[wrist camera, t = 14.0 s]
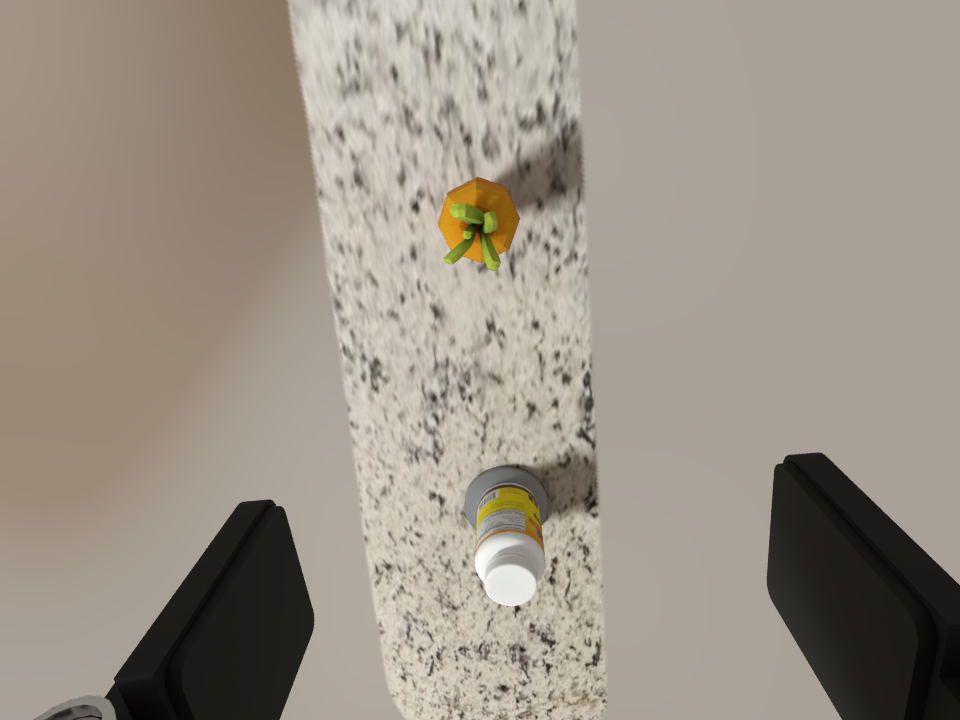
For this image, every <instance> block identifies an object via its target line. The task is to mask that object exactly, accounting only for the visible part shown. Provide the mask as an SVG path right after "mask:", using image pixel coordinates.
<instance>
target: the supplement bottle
mask: <svg viewBox="0 0 960 720" xmlns="http://www.w3.org/2000/svg"><path fill="white" fill-rule="evenodd" d="M475 567H476V571H477V573H478V575H479V577H480V579H481V580H482V581H483V582H484V583H485V589H486V592H487V594H488V595H489V597H490V598H491V599H492V600H494V601H495V602H497V603H499V604H502V605H506V606H516V605H521V604H523V603H525V602H527V601H529V600H530V599H531V598H532V597H533V596H534V594H535V593H536V590H537V582H538V581H539V580H540V578H541V577H542V575H543V572H544V569H545V553H544V545H543V537H542V528H541V520H540V512H539V506H538V502H537V500H536V498H535V496H534V495H533V493H532V492H531V491H530V490H528V489H527V488H526V487H524V486H522V485H519V484H516V483H501V484H497V485H495V486H493V487H491V488H489V489H488V490H487V491H486V492H485V493H484V494H483V495H482V497H481V499H480V501H479V504H478V512H477V531H476V551H475Z"/></svg>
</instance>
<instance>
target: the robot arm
mask: <svg viewBox="0 0 960 720" xmlns="http://www.w3.org/2000/svg"><path fill="white" fill-rule="evenodd" d="M772 496H773V497H772V510H771V525H770V540H769V554H768V570H767V587H768V592H769V595H770V597H771V600H772V602H773V603H774V605H775V607H776V609H777V610H778V612H779V614H780V615H781V617H782V619H783V620H784V622H785V624H786V626H787V627H788V629H789V630H790V632H791V634H792V636H793V637H794V639H795V641H796V642H797V644H798V646H799V648H800V649H801V651H802V652H803V654H804V656H805V658H806V659H807V661H808V663H809V664H810V666H811V668H812V670H813V671H814V673H815V675H816V676H817V678H818V680H819V681H820V683H821V685H822V686H823V688H824V690H825V691H826V693H827V695H828V696H829V698H830V700H831V702H832V703H833V705H834V706H835V708H836V710H837V712H838V713H839V715H840V717H841V718H842V720H960V585H959V584H958V583H957V582H956V581H955V580H954V579H953V578H952V577H951V576H949V574H948V573H946V571H944V570H943V569H942V568H941V567H940V566H939V565H938V564H937V563H936V562H935V561H934V560H933V559H932V558H931V557H930V556H929V555H928V554H927V553H926V552H925V551H924V550H923V549H922V548H921V547H920V546H919V545H918V544H916V542H914V541H913V540H912V539H911V538H910V537H909V536H908V535H907V534H906V533H905V532H904V531H903V530H902V529H901V528H900V527H899V526H898V525H897V524H896V523H895V522H894V521H893V520H892V519H891V518H890V517H889V516H888V515H886V514H885V513H884V512H883V511H882V510H881V509H880V508H879V507H878V506H877V505H876V504H875V503H874V502H873V501H872V500H871V499H870V498H869V497H868V496H867V495H866V494H865V493H864V492H863V491H862V490H861V489H859V488H858V487H857V486H856V485H855V484H854V483H853V482H852V481H851V480H850V479H849V478H848V477H847V476H846V475H845V474H844V473H843V472H842V471H841V470H840V469H839V468H838V467H837V466H836V465H835V464H834V463H833V462H832V461H831V460H830V459H828V458H827V457H826V456H825V455H824V454H823V453H807V454H795V455H788V456H786V457H785V459H784V461H783V464H777V465H776V467H775V470H774V481H773V495H772ZM313 627H314V612H313V608H312V605H311V601H310V598H309V594H308V591H307V587H306V584H305V580H304V577H303V573H302V569H301V566H300V562H299V559H298V555H297V552H296V548H295V545H294V541H293V537H292V534H291V530H290V527H289V523H288V520H287V516H286V513H285V510H284V508H283V507H281V506H276V504H275V503H274V502H273V501H272V500H259V501H247V502H242V503H240V504H239V505H238V506H237V507H236V508H235V510H234V511H233V513H232V514H231V515H230V517H229V518H228V520H227V521H226V522H225V524H224V525H223V527H222V528H221V530H220V531H219V532H218V534H217V535H216V536H215V538H214V539H213V541H212V542H211V543H210V545H209V546H208V548H207V549H206V550H205V552H204V553H203V555H202V556H201V557H200V559H199V560H198V562H197V563H196V564H195V566H194V567H193V569H192V570H191V571H190V573H189V574H188V575H187V577H186V578H185V580H184V581H183V582H182V584H181V585H180V587H179V588H178V589H177V591H176V593H175V594H174V595H173V596H172V598H171V599H170V601H169V602H168V603H167V605H166V606H165V608H164V609H163V611H162V612H161V613H160V615H159V616H158V618H157V619H156V620H155V622H154V623H153V624H152V626H151V627H150V629H149V630H148V631H147V633H146V634H145V636H144V637H143V638H142V640H141V641H140V643H139V644H138V646H137V647H136V648H135V649H134V651H133V652H132V654H131V655H130V656H129V658H128V659H127V661H126V662H125V663H124V665H123V666H122V668H121V669H120V670H119V672H118V673H117V675H116V676H115V678H114V681H115V684H114V685H113V686H112V688H111V689H110V691H109V692H108V694H107V695H106V696H105V698H103V697H101V696H84V697H79V698H75V699H71V700H69V701H66V702H64V703H62V704H60V705H57V706H55V707H53V708H51V709H50V710H48V711H47V712H45V713H43V714H42V715H40V716H39V717H37V718H35V719H34V720H279V719H280V717H281V714H282V711H283V709H284V706H285V704H286V701H287V698H288V696H289V693H290V691H291V688H292V685H293V682H294V680H295V677H296V675H297V672H298V669H299V667H300V664H301V661H302V659H303V656H304V653H305V651H306V648H307V646H308V643H309V640H310V638H311V635H312V632H313Z"/></svg>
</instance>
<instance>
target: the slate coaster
mask: <svg viewBox="0 0 960 720" xmlns="http://www.w3.org/2000/svg"><path fill="white" fill-rule="evenodd" d="M501 483H516V484H519V485H522V486H524V487H526V488H527V489H528V490H530V491H531V492H532V493H533V495H534V496H535V498H536V500H537V502H538V506H539V512H540V520H541V525H542V524H543V522H544V520H545V518H546V515H547V511H548V502H547V495H546V492H545V489H544V487H543V485H542V484H541V482H540V481H539V480H538V479H537V478H536V477H535V476H534V475H532V474H531V473H529V472H527V471H525V470H523V469H520V468H516V467H508V466H505V467H496V468H492V469H489V470H487V471H485V472H483V473H481V474H480V475H478V476H477V477H476V478H475V479H474V480H473V481H472V482H471V484H470V485H469V487H468V489H467V492H466V496H465V514H466V517H467V519H468V521H469V523H470V524H471V526H472V527H473V528H474V529H475V530H476V531H477V512H478V504H479V501H480V499H481V497H482V495H483V494H484V493H485V492H486V491H487V490H488V489H489V488H491V487H493V486H495V485H497V484H501Z"/></svg>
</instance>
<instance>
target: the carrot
mask: <svg viewBox="0 0 960 720" xmlns="http://www.w3.org/2000/svg"><path fill="white" fill-rule="evenodd" d="M519 220H520V217H519V215H518V213H517V211H516V209H515V206H514V204H513V202H512V200H511V198H510V196H509V193H508V191H507V189H506V187H505V186H502V185H499V184H496V183H493V182H491V181H488V180H485V179H482V178H479V177H477V178H475V179H473V180H471V181H469V182H467V183H465V184H463V185H461V186H459V187H457V188H455V189H453V190H451V191H450V192H448V193H447V196H446V199H445V202H444V205H443V209H442V212H441V215H440V219H439V222H438V226H439V228H440V230H441V232H442V234H443V236H444V238H445V240H446V242H447V244H448V246H449V248H450V250H451V252H449V253H448V254H447V255H446V256H445V257H444V258H443V259H444V261H445V262H446V263H448V264H454V263H455V262H457V261H458V260H459V259H460V258H461V257H462V256H463V257H466V258H469V259H471V260H474V261H477V262H480V263H482V262H484V261H485V262H486V265H487V267H488V269H489V270H492V271H497V270H498V268H499V267H500V263H501V262H500V258H499V256H498V255H499V254H501V253H503V252H505V251H507V250H509V248H510V246H511V243H512V240H513V237H514V234H515V232H516V229H517V226H518V223H519Z"/></svg>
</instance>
